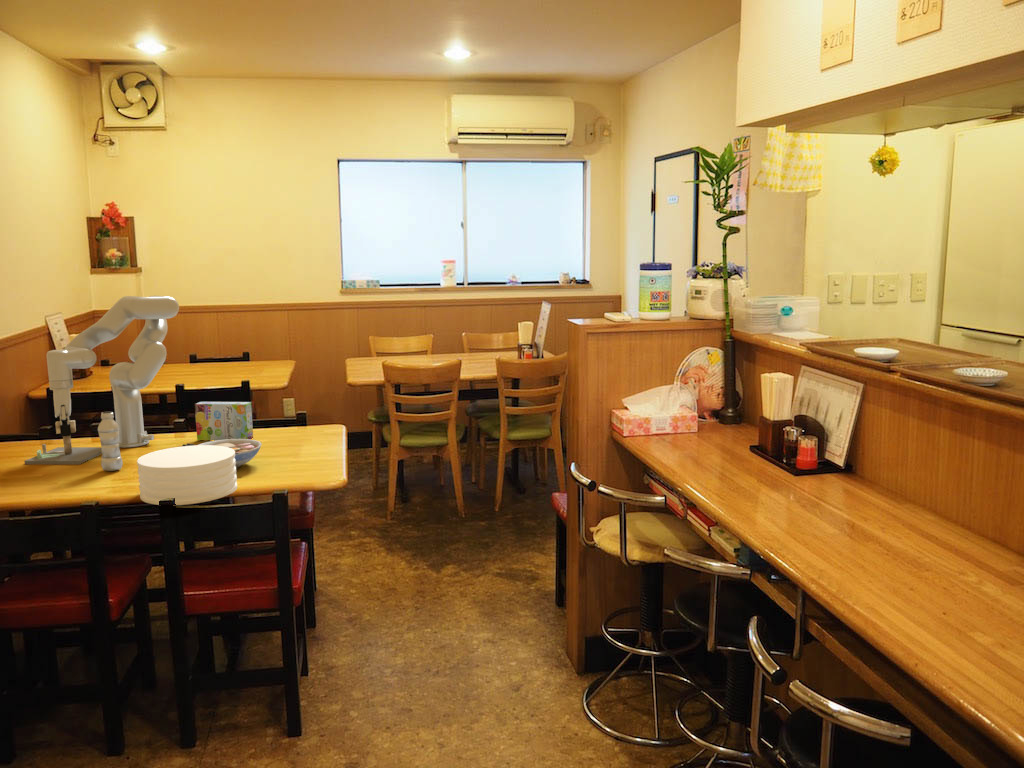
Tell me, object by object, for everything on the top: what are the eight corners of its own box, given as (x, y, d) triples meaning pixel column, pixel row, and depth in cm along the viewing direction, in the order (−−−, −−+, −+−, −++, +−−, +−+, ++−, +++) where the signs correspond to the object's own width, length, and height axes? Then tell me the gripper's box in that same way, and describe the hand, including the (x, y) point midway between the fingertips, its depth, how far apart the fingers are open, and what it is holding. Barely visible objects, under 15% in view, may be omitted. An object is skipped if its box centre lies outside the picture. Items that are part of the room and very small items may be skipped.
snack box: (254, 439, 329) (251, 401, 326) (247, 442, 323) (245, 404, 321) (203, 438, 332) (200, 400, 329) (196, 441, 326) (193, 403, 324)
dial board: (110, 450, 313) (109, 442, 312) (80, 464, 293) (79, 455, 293) (58, 450, 314) (57, 442, 314) (24, 464, 294) (23, 455, 294)
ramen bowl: (279, 464, 291) (278, 440, 289) (226, 480, 271) (225, 455, 270) (229, 455, 303) (227, 433, 302) (175, 470, 284) (173, 446, 282)
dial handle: (78, 451, 306) (75, 420, 304) (77, 453, 303) (74, 421, 301) (44, 454, 302) (40, 422, 300) (42, 456, 300) (39, 423, 298)
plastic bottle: (115, 473, 281) (109, 414, 277) (97, 472, 282) (91, 414, 279) (127, 468, 287) (122, 411, 284) (110, 467, 288) (104, 410, 285)
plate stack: (137, 487, 265) (134, 451, 263) (229, 475, 278) (227, 441, 276) (143, 511, 240) (140, 472, 239) (244, 496, 253) (242, 459, 251)
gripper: (50, 382, 305) (55, 431, 308) (48, 388, 291) (53, 440, 293) (73, 380, 308) (78, 429, 311) (72, 386, 294) (77, 438, 297)
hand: (66, 434), depth 302 cm, fingers closed on dial handle, 2 cm apart
